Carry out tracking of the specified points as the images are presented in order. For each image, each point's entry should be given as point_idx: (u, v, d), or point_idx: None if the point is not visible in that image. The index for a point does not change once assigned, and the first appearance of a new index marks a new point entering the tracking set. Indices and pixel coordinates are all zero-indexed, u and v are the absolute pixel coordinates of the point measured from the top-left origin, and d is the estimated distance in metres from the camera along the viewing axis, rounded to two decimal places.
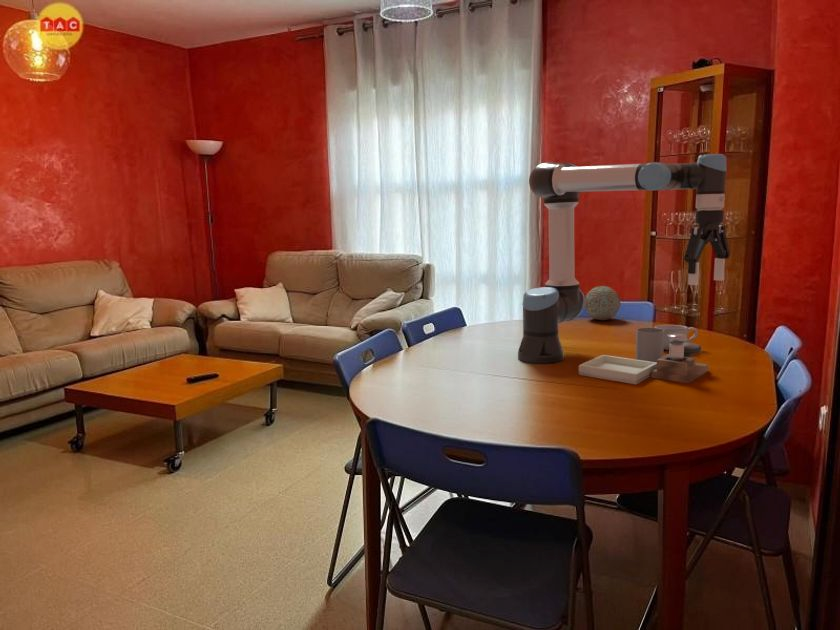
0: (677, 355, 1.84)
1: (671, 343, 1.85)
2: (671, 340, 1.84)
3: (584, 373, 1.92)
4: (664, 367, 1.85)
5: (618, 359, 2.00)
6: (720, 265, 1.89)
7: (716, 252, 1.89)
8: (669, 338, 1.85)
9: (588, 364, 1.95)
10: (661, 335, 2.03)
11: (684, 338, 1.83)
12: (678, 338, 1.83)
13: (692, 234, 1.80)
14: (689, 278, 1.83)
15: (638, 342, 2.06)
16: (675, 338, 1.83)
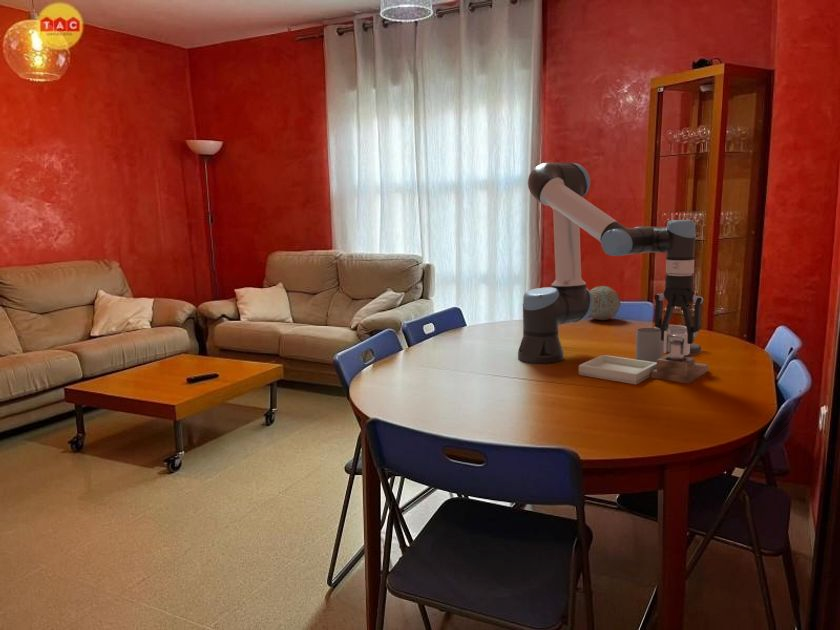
0: (677, 355, 1.84)
1: (671, 343, 1.85)
2: (671, 340, 1.84)
3: (584, 373, 1.92)
4: (664, 367, 1.85)
5: (618, 359, 2.00)
6: None
7: None
8: (669, 338, 1.85)
9: (588, 364, 1.95)
10: None
11: None
12: (678, 338, 1.83)
13: None
14: None
15: (638, 342, 2.06)
16: (675, 338, 1.83)
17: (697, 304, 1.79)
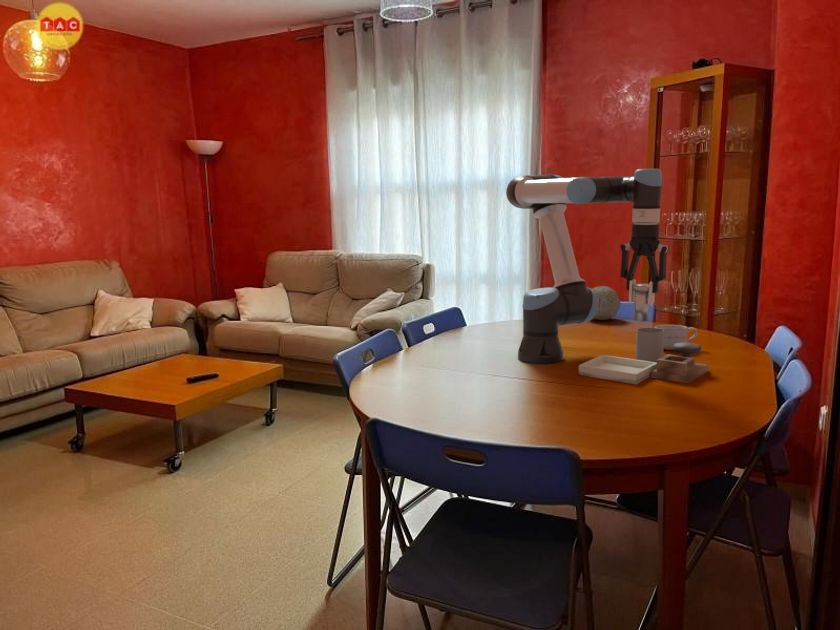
0: (642, 304, 1.86)
1: (636, 292, 1.86)
2: (636, 289, 1.85)
3: (584, 373, 1.92)
4: (664, 367, 1.85)
5: (618, 359, 2.00)
6: None
7: None
8: (634, 287, 1.86)
9: (588, 364, 1.95)
10: (661, 335, 2.03)
11: None
12: (643, 287, 1.84)
13: None
14: None
15: (638, 342, 2.06)
16: (640, 287, 1.84)
17: (662, 253, 1.80)
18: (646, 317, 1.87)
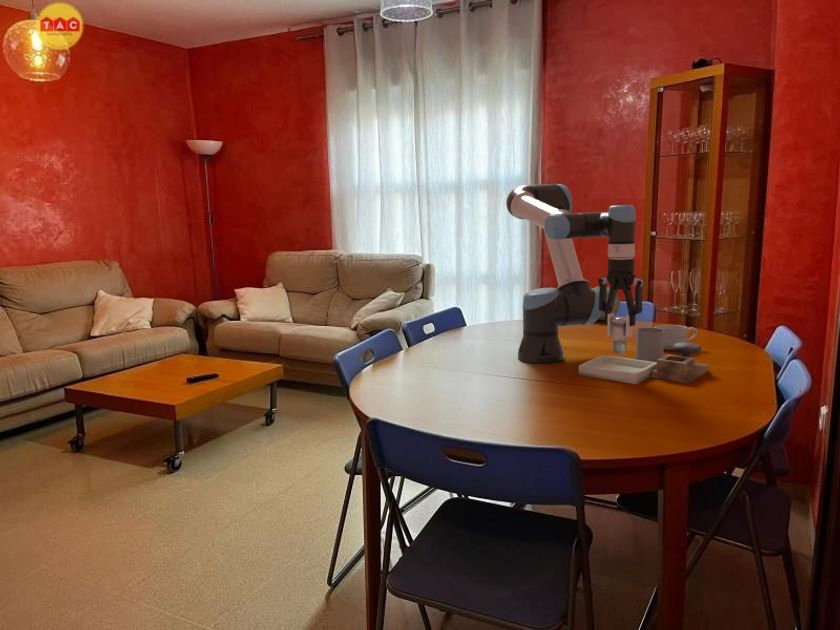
0: (619, 337, 1.89)
1: (614, 325, 1.89)
2: (614, 322, 1.88)
3: (584, 373, 1.92)
4: (664, 367, 1.85)
5: (618, 359, 2.00)
6: None
7: None
8: (612, 320, 1.89)
9: (588, 364, 1.95)
10: (661, 335, 2.03)
11: None
12: (620, 320, 1.87)
13: None
14: None
15: (638, 342, 2.06)
16: (617, 320, 1.87)
17: (637, 287, 1.83)
18: (624, 350, 1.90)
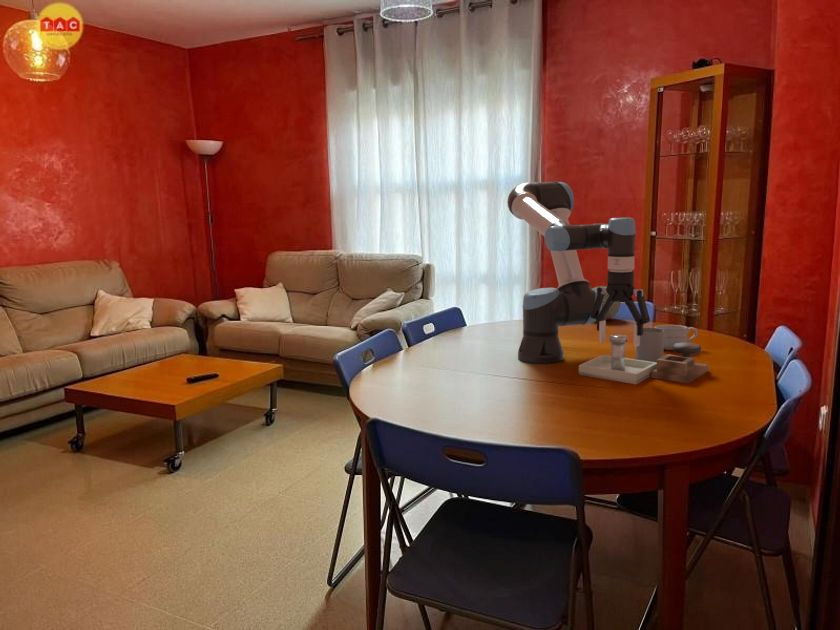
0: (618, 355, 1.90)
1: (612, 343, 1.91)
2: (612, 340, 1.90)
3: (584, 373, 1.92)
4: (664, 367, 1.85)
5: None
6: None
7: None
8: (610, 339, 1.91)
9: (588, 364, 1.95)
10: (661, 335, 2.03)
11: (624, 338, 1.89)
12: (618, 338, 1.89)
13: None
14: None
15: None
16: (616, 338, 1.89)
17: (639, 297, 1.84)
18: (623, 367, 1.91)
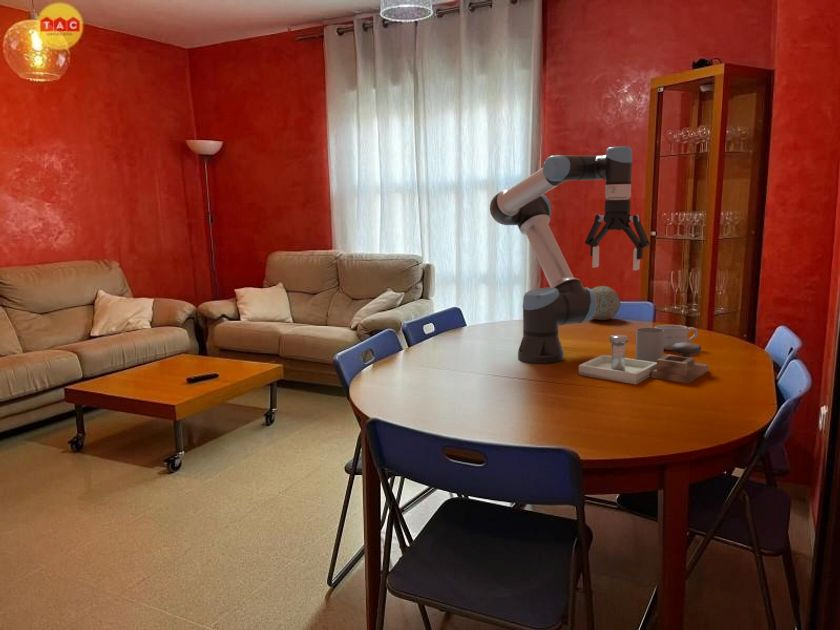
0: (618, 356, 1.90)
1: (613, 344, 1.91)
2: (612, 341, 1.90)
3: (584, 373, 1.92)
4: (664, 367, 1.85)
5: None
6: None
7: None
8: (611, 339, 1.90)
9: (588, 364, 1.95)
10: (661, 335, 2.03)
11: (625, 339, 1.89)
12: (619, 339, 1.88)
13: None
14: None
15: (638, 342, 2.06)
16: (616, 339, 1.89)
17: (635, 222, 1.89)
18: (623, 368, 1.91)
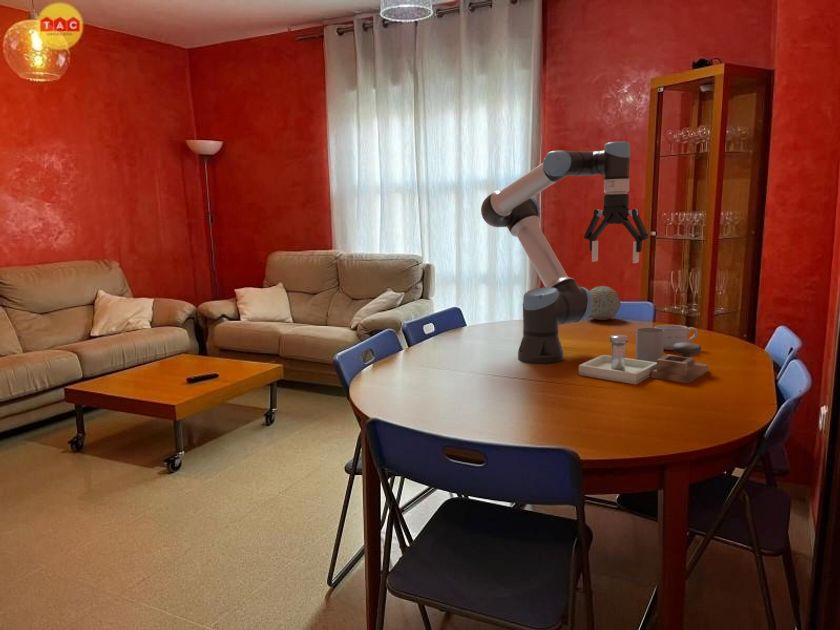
0: (618, 356, 1.90)
1: (613, 344, 1.91)
2: (613, 341, 1.90)
3: (584, 373, 1.92)
4: (664, 367, 1.85)
5: None
6: None
7: None
8: (611, 339, 1.90)
9: (588, 364, 1.95)
10: (661, 335, 2.03)
11: (625, 339, 1.89)
12: (619, 339, 1.88)
13: None
14: None
15: (638, 342, 2.06)
16: (616, 339, 1.89)
17: (634, 215, 1.92)
18: (623, 368, 1.91)
